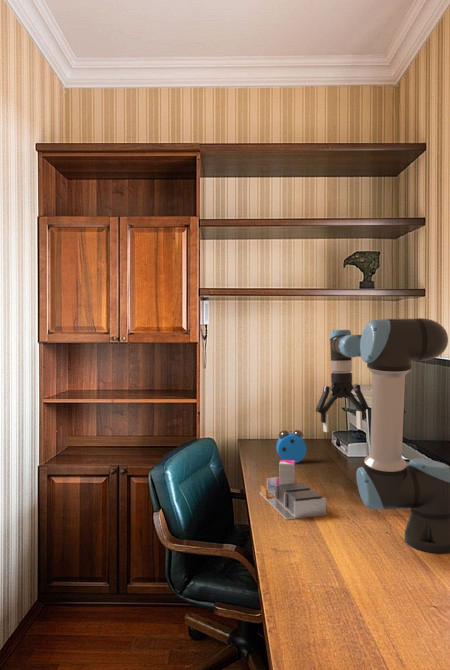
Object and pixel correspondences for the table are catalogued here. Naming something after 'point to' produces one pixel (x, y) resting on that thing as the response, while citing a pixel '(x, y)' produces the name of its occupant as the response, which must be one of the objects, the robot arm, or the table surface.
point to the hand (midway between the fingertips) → (342, 430)
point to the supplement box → (286, 471)
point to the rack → (293, 499)
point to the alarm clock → (291, 446)
